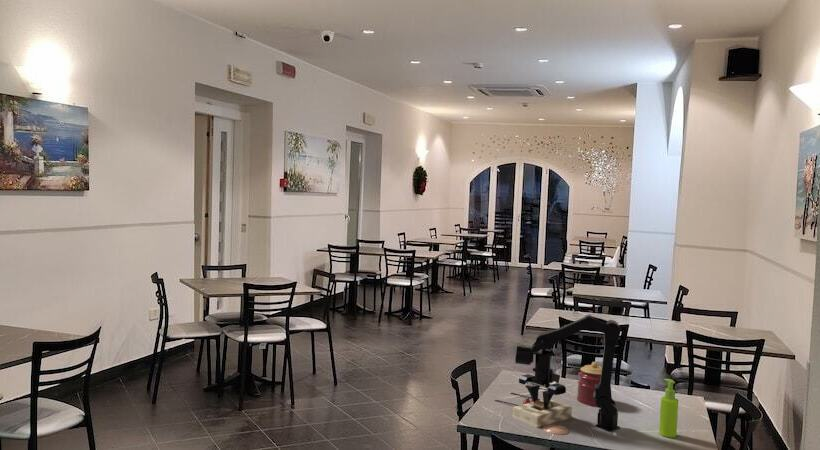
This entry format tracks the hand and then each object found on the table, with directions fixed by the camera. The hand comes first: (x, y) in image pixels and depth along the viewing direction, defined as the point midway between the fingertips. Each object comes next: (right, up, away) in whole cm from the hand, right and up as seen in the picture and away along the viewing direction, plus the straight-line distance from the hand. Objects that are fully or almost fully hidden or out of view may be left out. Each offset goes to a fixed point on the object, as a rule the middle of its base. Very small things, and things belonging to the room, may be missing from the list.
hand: (540, 406), depth 243 cm
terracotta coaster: (+3, -6, -11) cm, 13 cm away
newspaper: (+11, -5, +45) cm, 47 cm away
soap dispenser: (+44, -8, -9) cm, 46 cm away
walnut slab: (+1, -3, +1) cm, 3 cm away
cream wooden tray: (+1, -5, +1) cm, 5 cm away
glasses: (-7, -5, +19) cm, 21 cm away
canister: (+26, -6, +23) cm, 35 cm away
